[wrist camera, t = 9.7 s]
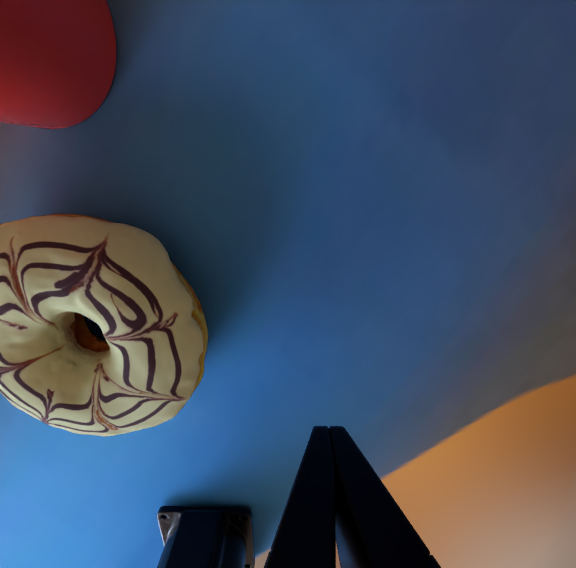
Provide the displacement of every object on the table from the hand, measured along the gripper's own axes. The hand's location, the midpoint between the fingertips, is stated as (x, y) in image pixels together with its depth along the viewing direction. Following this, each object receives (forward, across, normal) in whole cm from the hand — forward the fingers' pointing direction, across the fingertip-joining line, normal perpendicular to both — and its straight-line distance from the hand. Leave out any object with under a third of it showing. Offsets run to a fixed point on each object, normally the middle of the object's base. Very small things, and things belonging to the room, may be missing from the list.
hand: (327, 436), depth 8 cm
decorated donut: (+8, +10, 0) cm, 13 cm away
